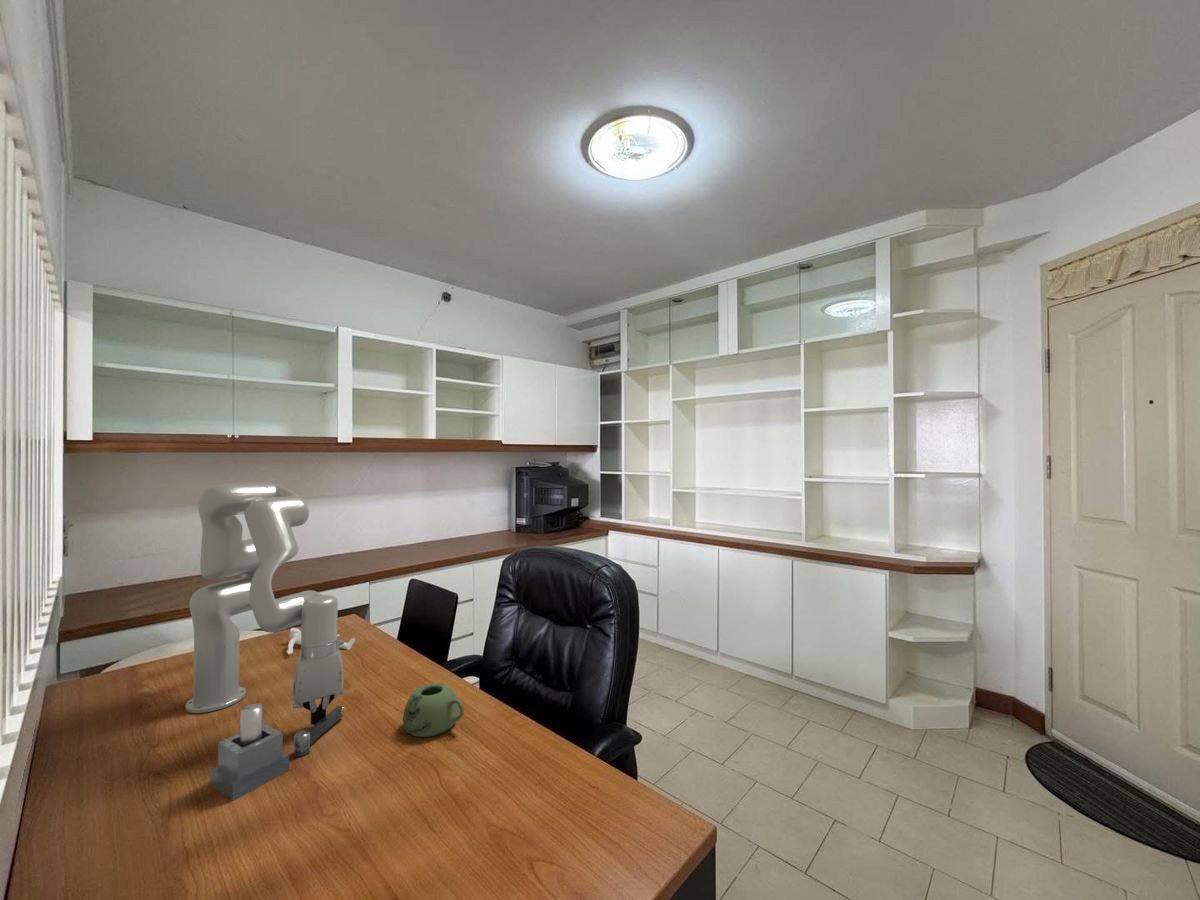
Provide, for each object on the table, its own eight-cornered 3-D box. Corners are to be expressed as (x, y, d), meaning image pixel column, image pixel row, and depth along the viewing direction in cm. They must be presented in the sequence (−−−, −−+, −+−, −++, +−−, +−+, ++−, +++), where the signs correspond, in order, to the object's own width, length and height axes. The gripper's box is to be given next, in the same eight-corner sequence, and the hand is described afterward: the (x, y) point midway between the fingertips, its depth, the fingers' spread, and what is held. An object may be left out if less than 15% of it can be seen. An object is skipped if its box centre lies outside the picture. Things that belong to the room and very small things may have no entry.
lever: (338, 715, 118) (338, 699, 118) (349, 716, 117) (349, 700, 118) (290, 756, 102) (290, 737, 102) (303, 756, 101) (303, 738, 101)
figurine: (310, 671, 148) (262, 648, 158) (361, 649, 165) (315, 629, 175) (312, 654, 148) (264, 632, 158) (363, 634, 165) (317, 615, 175)
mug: (390, 734, 110) (390, 697, 110) (429, 707, 122) (429, 673, 122) (444, 749, 104) (444, 710, 104) (480, 719, 116) (480, 684, 116)
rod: (235, 765, 94) (236, 710, 94) (254, 755, 97) (256, 702, 98) (245, 770, 93) (246, 714, 93) (264, 760, 96) (266, 706, 96)
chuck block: (210, 785, 93) (211, 744, 93) (266, 757, 102) (266, 720, 102) (232, 800, 89) (233, 758, 89) (288, 770, 97) (289, 731, 97)
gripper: (349, 636, 120) (348, 708, 120) (280, 652, 111) (278, 730, 110) (357, 645, 115) (356, 721, 114) (284, 662, 105) (283, 745, 105)
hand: (318, 725), depth 112 cm, fingers closed
